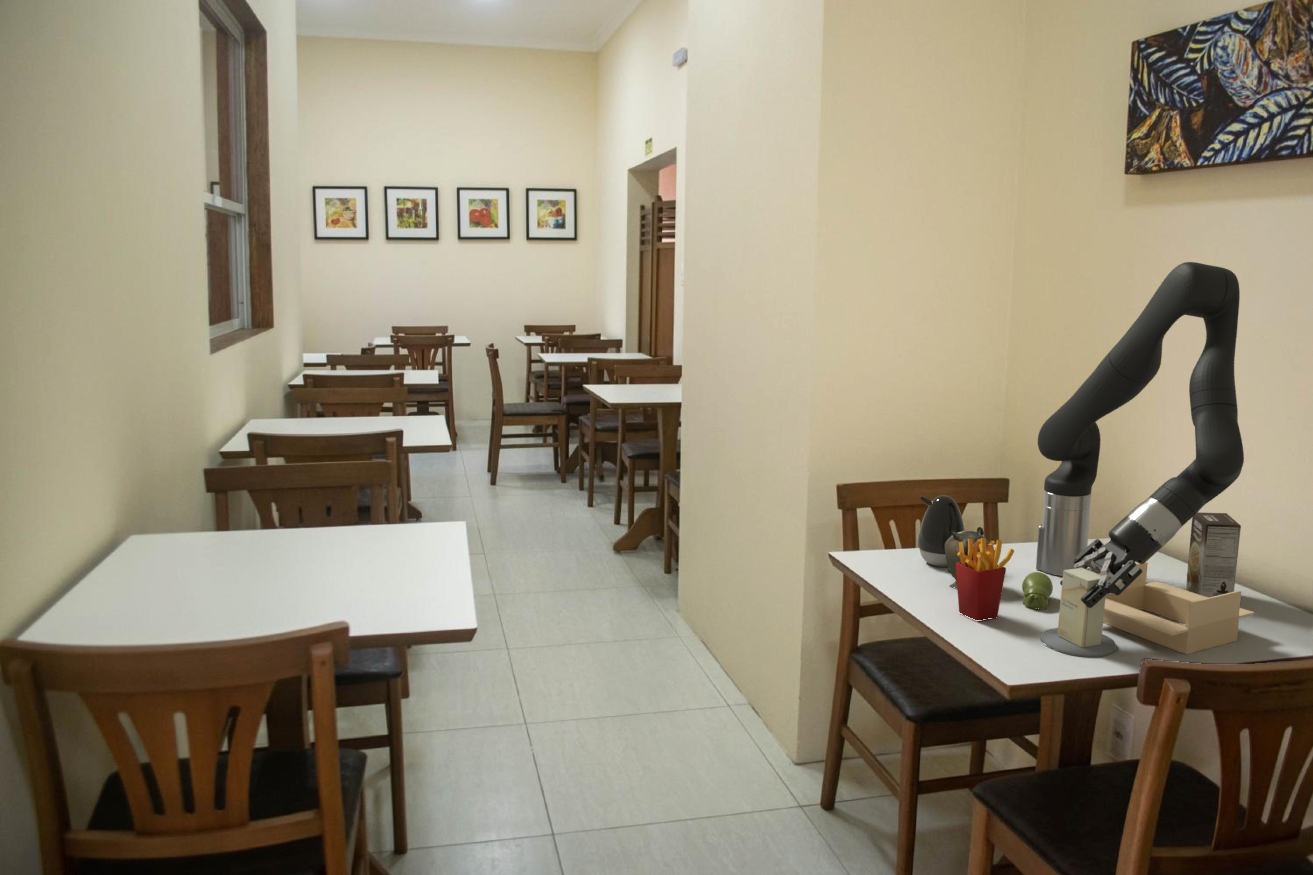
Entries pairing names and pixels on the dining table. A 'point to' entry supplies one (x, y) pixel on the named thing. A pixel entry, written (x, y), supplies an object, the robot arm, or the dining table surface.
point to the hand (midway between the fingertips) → (1074, 595)
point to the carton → (1175, 615)
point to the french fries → (980, 579)
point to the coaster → (1069, 648)
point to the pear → (1037, 590)
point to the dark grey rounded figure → (938, 528)
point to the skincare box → (1080, 609)
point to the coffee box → (1213, 554)
